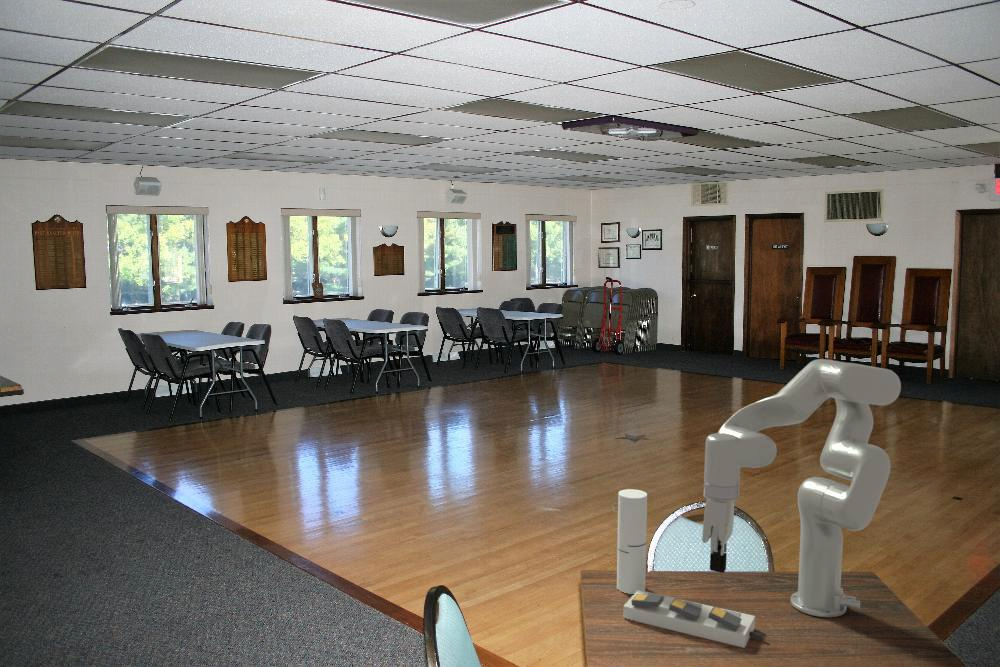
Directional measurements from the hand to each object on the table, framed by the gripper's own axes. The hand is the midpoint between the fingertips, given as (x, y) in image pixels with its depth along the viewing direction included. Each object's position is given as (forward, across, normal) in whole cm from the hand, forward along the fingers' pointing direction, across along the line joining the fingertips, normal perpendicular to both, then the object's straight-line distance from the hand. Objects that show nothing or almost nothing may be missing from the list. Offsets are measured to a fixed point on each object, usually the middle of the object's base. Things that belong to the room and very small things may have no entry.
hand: (717, 570), depth 178 cm
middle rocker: (+11, -1, -7) cm, 13 cm away
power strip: (+15, -3, -5) cm, 17 cm away
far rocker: (+11, -1, -16) cm, 20 cm away
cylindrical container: (+16, -15, -25) cm, 33 cm away
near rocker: (+11, 0, +2) cm, 11 cm away
